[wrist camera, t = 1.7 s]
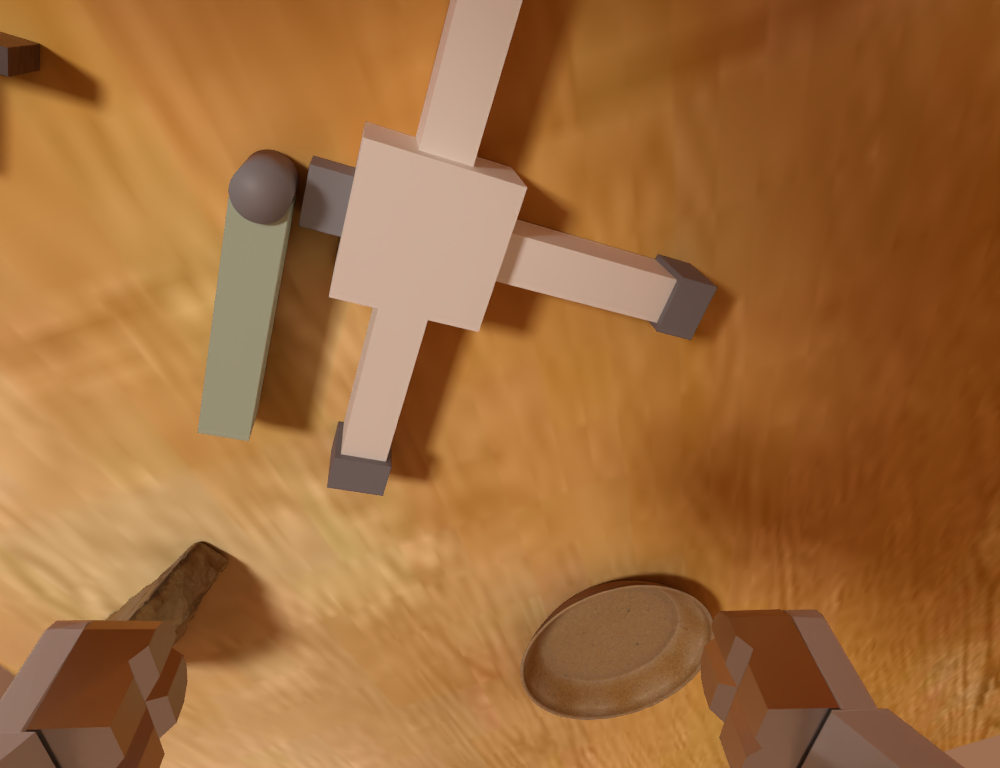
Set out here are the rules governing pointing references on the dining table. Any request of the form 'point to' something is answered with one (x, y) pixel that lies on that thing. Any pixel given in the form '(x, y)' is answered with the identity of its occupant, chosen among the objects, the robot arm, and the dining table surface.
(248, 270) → the hinged leg
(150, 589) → the rock
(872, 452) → the dining table surface
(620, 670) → the plant saucer
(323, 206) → the stool base
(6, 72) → the leg socket
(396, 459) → the dining table surface
